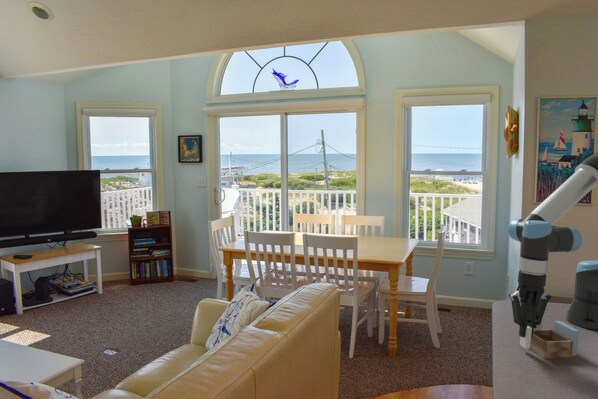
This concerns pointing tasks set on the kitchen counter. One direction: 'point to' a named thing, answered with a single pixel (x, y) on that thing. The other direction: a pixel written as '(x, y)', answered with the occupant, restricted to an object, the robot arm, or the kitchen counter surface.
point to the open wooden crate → (550, 344)
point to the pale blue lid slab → (568, 334)
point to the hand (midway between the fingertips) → (524, 346)
